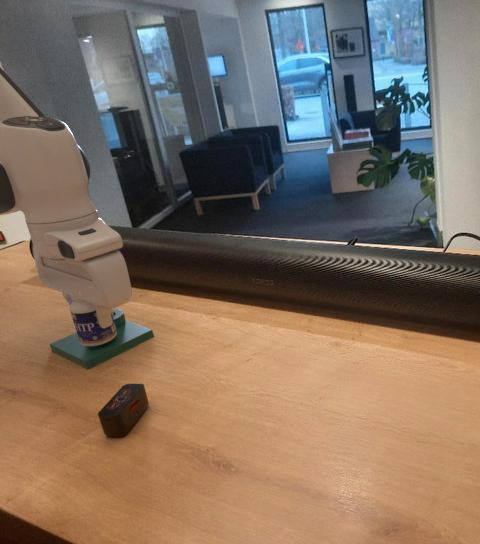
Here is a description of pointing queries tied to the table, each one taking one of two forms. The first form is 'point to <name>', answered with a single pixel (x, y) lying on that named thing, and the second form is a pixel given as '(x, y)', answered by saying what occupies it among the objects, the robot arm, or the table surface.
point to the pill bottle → (89, 324)
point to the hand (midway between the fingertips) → (93, 321)
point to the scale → (94, 355)
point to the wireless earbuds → (123, 409)
